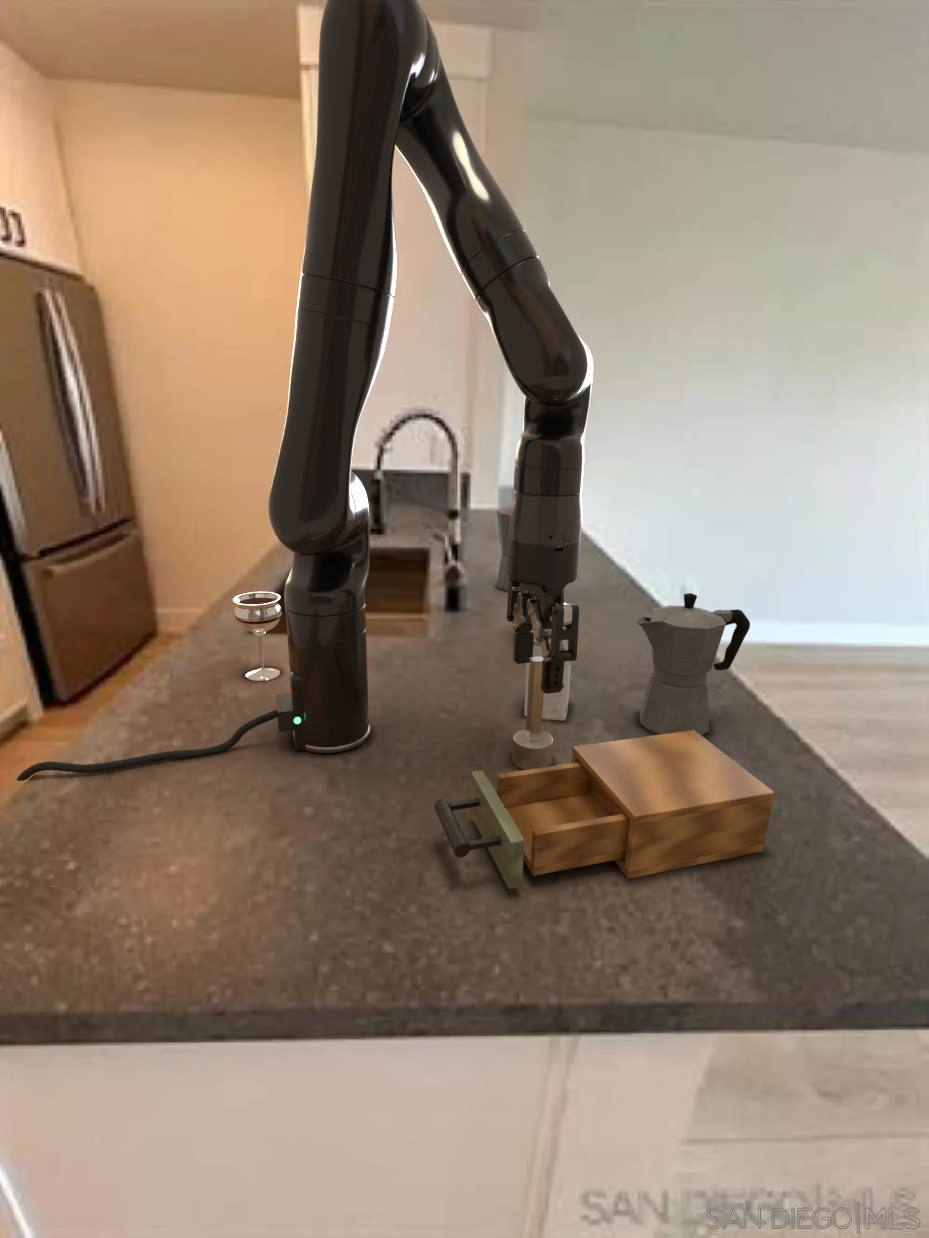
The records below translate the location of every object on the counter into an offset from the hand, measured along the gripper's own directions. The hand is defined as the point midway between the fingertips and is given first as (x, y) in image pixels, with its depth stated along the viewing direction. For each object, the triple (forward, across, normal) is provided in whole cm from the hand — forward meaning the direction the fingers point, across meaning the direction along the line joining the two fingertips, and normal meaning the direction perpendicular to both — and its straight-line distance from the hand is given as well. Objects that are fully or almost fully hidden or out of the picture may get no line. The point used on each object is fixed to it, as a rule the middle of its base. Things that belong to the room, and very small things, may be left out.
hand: (536, 676), depth 76 cm
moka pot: (+11, -71, +25) cm, 76 cm away
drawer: (+10, +15, -6) cm, 19 cm away
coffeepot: (+11, -4, +23) cm, 26 cm away
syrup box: (+11, -12, +7) cm, 18 cm away
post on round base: (+11, 0, 0) cm, 11 cm away
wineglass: (+11, -34, -30) cm, 47 cm away
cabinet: (+11, +15, +8) cm, 20 cm away
